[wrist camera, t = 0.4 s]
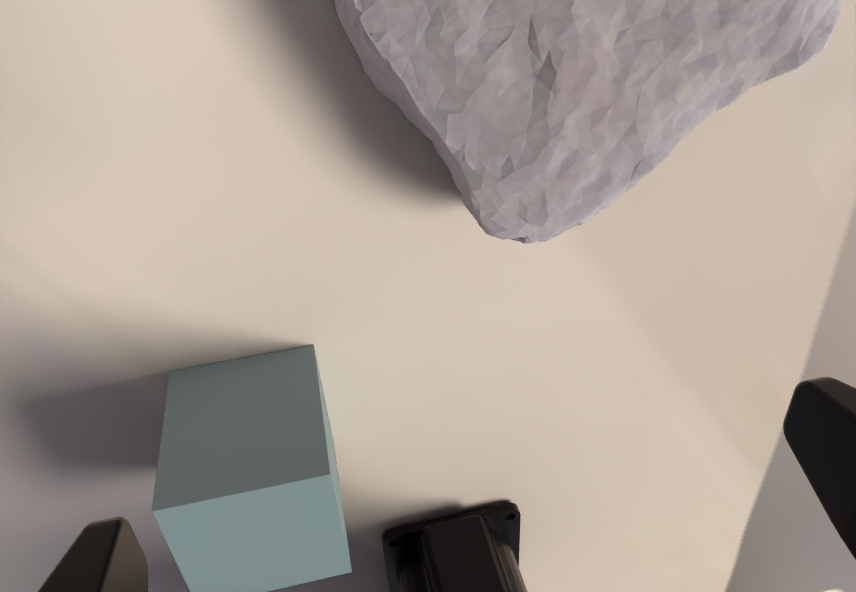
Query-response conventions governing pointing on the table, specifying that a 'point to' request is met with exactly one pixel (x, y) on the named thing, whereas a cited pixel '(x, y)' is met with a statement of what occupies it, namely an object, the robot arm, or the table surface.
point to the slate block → (250, 475)
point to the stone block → (570, 88)
